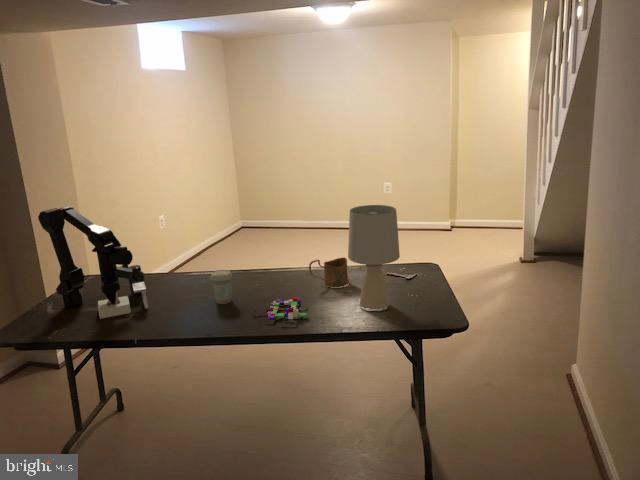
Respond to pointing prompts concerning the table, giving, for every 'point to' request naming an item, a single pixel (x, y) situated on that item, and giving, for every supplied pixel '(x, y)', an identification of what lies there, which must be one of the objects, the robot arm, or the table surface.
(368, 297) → the lamp
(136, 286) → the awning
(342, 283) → the mug
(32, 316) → the table surface
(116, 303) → the peg
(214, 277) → the coffee cup
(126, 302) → the socket block
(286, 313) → the building block set
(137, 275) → the supplement bottle
